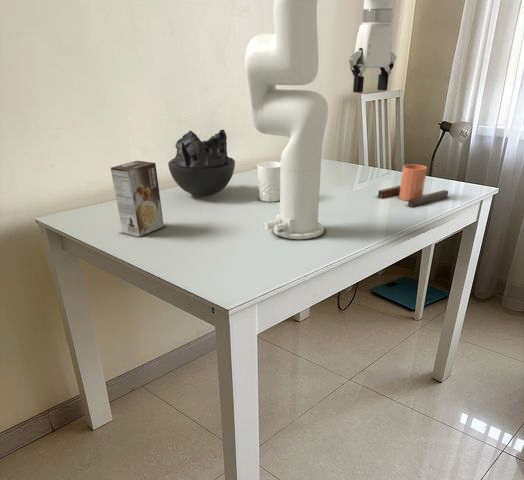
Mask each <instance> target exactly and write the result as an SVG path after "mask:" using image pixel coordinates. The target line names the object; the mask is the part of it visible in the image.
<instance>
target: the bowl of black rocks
mask: <svg viewBox="0 0 524 480" xmlns="http://www.w3.org/2000/svg"><path fill="white" fill-rule="evenodd" d="M227 140H228V137H227V133H226V131H225V129H219V131H218V133H215V134H214V135H211V136H210V137H209V138H208V139H207V140H200V138H199V137H198V135H197V134H196V133H195V132H194V131H192V130H189V131H187V133H185V134H183V135H182V137H181V138H179V139H178V140H177V141H176V143H175V146H174V147H175V148H176V154H175V157H174V158H172V159H170V160H169V161H168V163H167V165H168V170H169V173H170V175H171V177H172V179H173V180H174V182H175V183H176V184H177V186H178V187H179V188H180V189H182V191H184V192H186V193H188V194H190V195H193V196H197V197H210V196H212V195H215V194H218V193H219V192H221V191H222V190H224V189H225V188H226V187H227V185H228V184H229V183H230V181H231V179H232V177H233V175H234V172H235V167H236V161H235V159H234V158H233V157H229V156H228V146H227V145H228V141H227Z"/></svg>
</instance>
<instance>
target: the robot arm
mask: <svg viewBox="0 0 524 480" xmlns="http://www.w3.org/2000/svg"><path fill="white" fill-rule="evenodd" d="M317 5H318V0H274V1H273V7H272V9H273V10H272V14H273V27H274V28H273V29H274V32H265V33H260V34H256V35H254V36H253V37H252V38H251V39H250V41H249V42H248V44H247V47H246V50H245V54H244V72H245V81H246V87H247V94H248V100H249V108H250V114H251V119H252V120H251V121H252V123H253V125H254V126H253V127H254V128H255V129H256V130H257V131H258V132H259V133H261V134H262V135H263V134H264V135H270V136H281V137H286V138H290V139H289V141H288V143H287V144H286V146H285V147H284V148H283V150H282V152H281V155H280V160H279V162H280V200H279V213H277V214H276V217H275V218H274V219H273V220H268V221H265V222H264V223H263V229H264V230H266V231H268V230H272V229H273V233H275V235H276V236H279V237H281V238H284V239H290V240H308V239H313V238H317V237H319V236H321V235H323V234H324V231H325V226H324V225H323V224H322V223H320V222H319V209H320V207H319V206H320V188H321V170H322V169H321V168H322V154H323V153H322V151H323V142H324V136H325V132H326V126H327V122H328V117H329V105H328V102H327V100H326V98H325V97H324V96H323V95H322V94H321V93H319V92H316V91H314V90H313V91H312V90H307V89H280V88H277V86H305V85H309V84H311V83H312V82H314V80H315V79H316V78H317V76H318V73H319V40H318V39H319V37H318V15H317V12H318V9H317V8H318V7H317ZM393 8H394V0H363V9H362V19H361V21H362V23H361V24H360V25H359V28H358V31H357V36H356V41H355V47H354V52H353V54H352V55H351V56H349V57H348V62H349V63H348V64H349V68H350V71H351V73H352V76H353V85H352V93H356V94H363V92H364V81H365V76H364V74H365V72H366V70H367V69H377V68H378V71H379V74H378V77H377V78H378V79H377V91H383V92H385V91H387V90H388V85H389V77H390V76H389V75H391V72H392V70H393V68H394V67H395V65H394V64H395V63H396V60H397V55H396V54H395V53H394V52H392V46H393V28H392V27H393V25H392V19H393V16H394V15H393Z"/></svg>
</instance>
